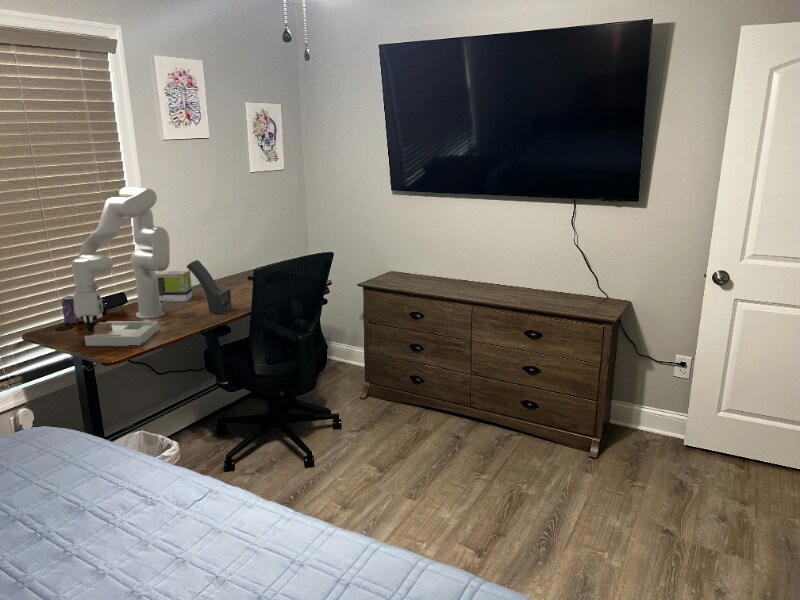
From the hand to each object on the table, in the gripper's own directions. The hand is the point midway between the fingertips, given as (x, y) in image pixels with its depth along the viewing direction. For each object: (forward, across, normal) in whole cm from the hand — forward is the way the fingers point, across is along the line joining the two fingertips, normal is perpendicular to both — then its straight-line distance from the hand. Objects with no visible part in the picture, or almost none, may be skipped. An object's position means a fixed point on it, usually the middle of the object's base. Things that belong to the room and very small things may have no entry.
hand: (91, 330), depth 254 cm
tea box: (+3, -14, -60) cm, 62 cm away
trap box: (+3, -13, 0) cm, 14 cm away
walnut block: (+1, -5, 0) cm, 5 cm away
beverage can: (+3, +18, -20) cm, 27 cm away
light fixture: (+3, -38, -40) cm, 55 cm away
